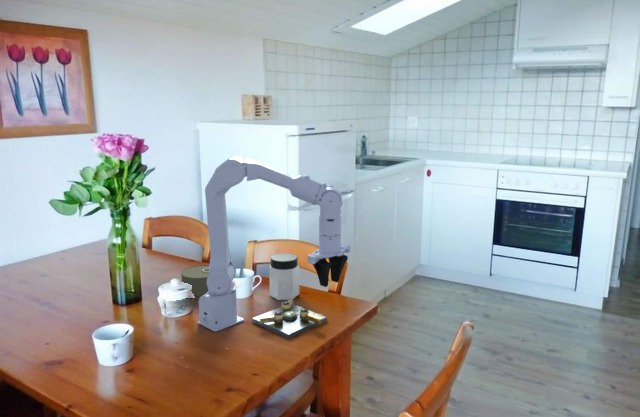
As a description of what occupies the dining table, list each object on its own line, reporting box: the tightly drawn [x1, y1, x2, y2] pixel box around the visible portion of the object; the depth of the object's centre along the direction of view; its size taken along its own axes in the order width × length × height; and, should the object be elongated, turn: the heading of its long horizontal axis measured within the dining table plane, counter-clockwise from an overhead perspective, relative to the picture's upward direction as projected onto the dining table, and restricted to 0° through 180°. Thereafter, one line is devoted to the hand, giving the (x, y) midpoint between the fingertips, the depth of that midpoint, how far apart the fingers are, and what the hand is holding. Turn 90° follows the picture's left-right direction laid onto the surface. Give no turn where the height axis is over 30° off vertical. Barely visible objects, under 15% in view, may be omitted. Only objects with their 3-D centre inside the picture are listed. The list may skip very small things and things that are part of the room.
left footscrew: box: [260, 311, 283, 324], centre depth 132 cm, size 6×2×2 cm, turn 107°
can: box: [180, 264, 209, 300], centre depth 156 cm, size 12×12×7 cm
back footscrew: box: [281, 299, 294, 312], centre depth 141 cm, size 6×2×2 cm, turn 167°
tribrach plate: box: [251, 303, 328, 340], centre depth 135 cm, size 14×14×3 cm
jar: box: [268, 253, 300, 301], centre depth 153 cm, size 9×8×12 cm
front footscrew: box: [300, 307, 323, 325], centre depth 133 cm, size 7×2×2 cm, turn 47°
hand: (329, 283), depth 134 cm, fingers open, 4 cm apart
